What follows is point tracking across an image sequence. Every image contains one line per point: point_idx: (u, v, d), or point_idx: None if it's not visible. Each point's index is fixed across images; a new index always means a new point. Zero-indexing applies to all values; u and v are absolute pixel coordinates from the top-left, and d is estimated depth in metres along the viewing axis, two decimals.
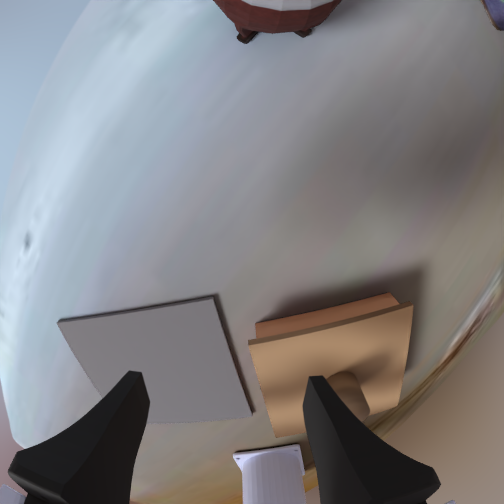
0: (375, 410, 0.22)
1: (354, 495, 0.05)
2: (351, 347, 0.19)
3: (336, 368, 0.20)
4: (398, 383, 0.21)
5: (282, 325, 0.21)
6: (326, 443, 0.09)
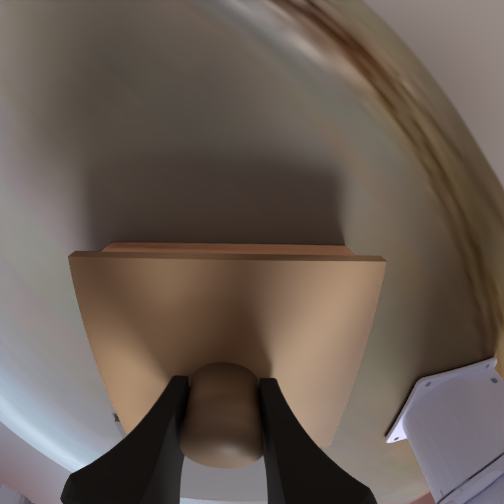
0: (362, 318, 0.11)
1: None
2: (137, 364, 0.11)
3: None
4: (289, 272, 0.10)
5: None
6: (269, 447, 0.08)
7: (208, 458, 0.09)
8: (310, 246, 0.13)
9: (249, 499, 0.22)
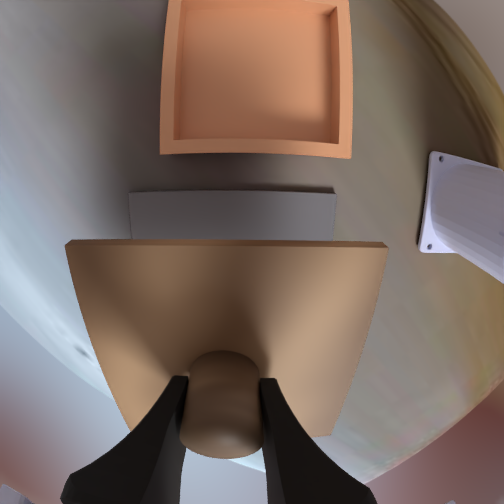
0: (364, 305, 0.11)
1: None
2: (136, 353, 0.11)
3: (179, 375, 0.12)
4: (289, 258, 0.10)
5: None
6: (269, 447, 0.08)
7: (208, 448, 0.09)
8: None
9: None
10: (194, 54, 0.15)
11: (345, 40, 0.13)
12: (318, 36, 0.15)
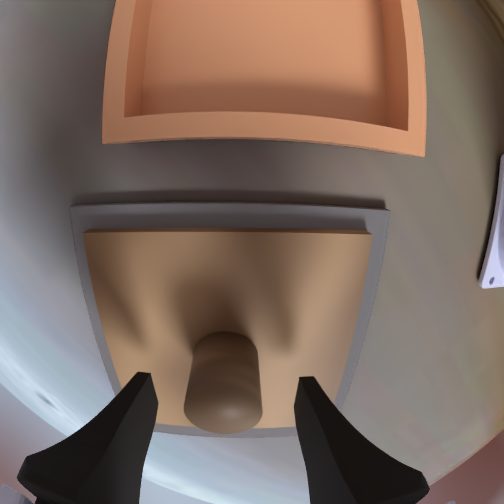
0: (353, 288, 0.12)
1: (340, 498, 0.05)
2: (144, 335, 0.13)
3: (183, 357, 0.13)
4: (283, 243, 0.11)
5: None
6: (315, 444, 0.08)
7: (210, 421, 0.10)
8: None
9: (278, 432, 0.16)
10: None
11: None
12: None
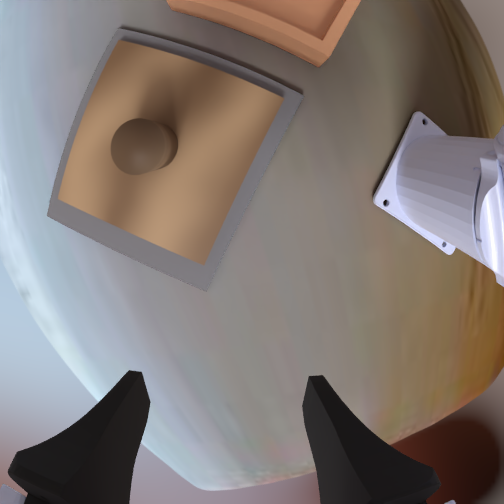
0: (259, 128, 0.17)
1: (354, 495, 0.05)
2: (112, 112, 0.16)
3: None
4: (226, 79, 0.15)
5: None
6: (326, 442, 0.09)
7: (123, 153, 0.14)
8: None
9: (159, 264, 0.20)
10: None
11: None
12: None
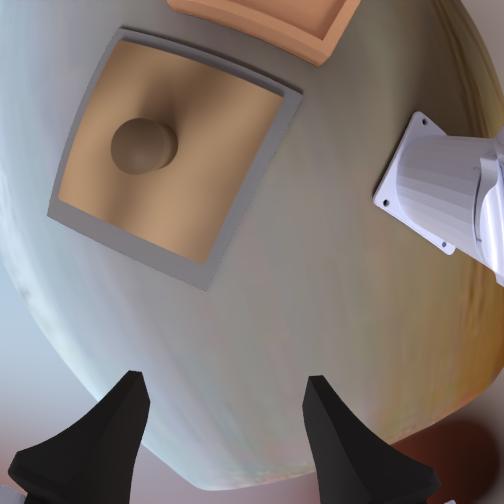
0: (259, 128, 0.17)
1: (354, 495, 0.05)
2: (112, 112, 0.16)
3: None
4: (226, 79, 0.15)
5: None
6: (326, 442, 0.09)
7: (123, 153, 0.14)
8: None
9: (159, 264, 0.20)
10: None
11: None
12: None
